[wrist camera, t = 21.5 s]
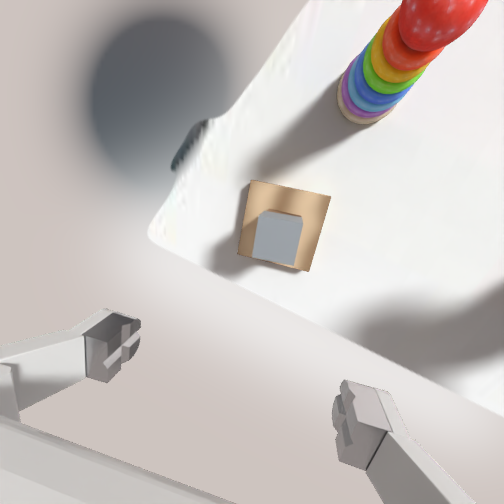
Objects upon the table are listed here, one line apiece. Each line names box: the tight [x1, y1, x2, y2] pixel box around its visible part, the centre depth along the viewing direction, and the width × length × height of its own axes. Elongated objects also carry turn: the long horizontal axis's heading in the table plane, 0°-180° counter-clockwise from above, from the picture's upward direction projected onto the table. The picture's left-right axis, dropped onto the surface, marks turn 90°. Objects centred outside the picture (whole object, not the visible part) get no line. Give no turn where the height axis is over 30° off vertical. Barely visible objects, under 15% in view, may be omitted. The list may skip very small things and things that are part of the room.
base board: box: [237, 180, 331, 272], centre depth 37 cm, size 12×12×2 cm
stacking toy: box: [337, 0, 488, 124], centre depth 22 cm, size 8×8×19 cm
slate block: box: [252, 211, 303, 266], centre depth 29 cm, size 5×5×5 cm
